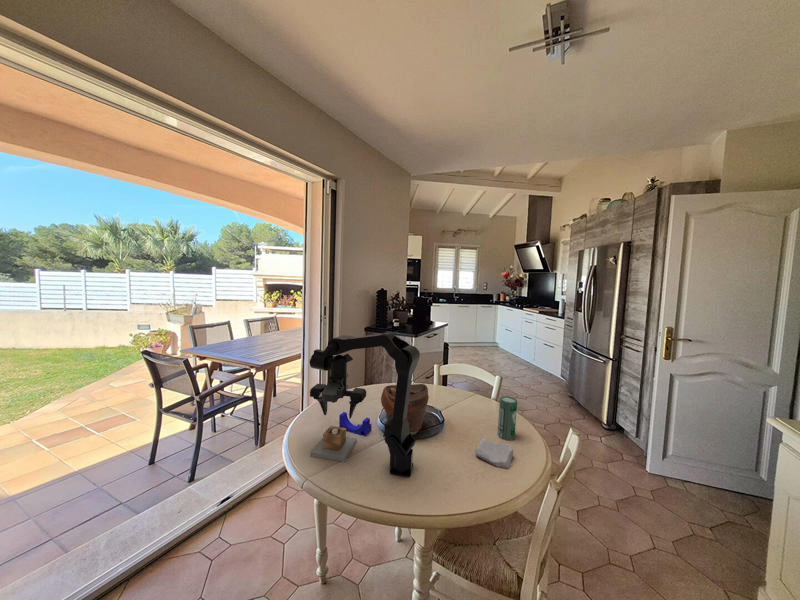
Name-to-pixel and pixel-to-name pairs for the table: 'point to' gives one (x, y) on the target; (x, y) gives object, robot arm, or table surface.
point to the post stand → (333, 454)
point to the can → (507, 418)
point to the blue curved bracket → (358, 429)
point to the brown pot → (415, 405)
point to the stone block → (495, 453)
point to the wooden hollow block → (334, 439)
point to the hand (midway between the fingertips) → (337, 416)
